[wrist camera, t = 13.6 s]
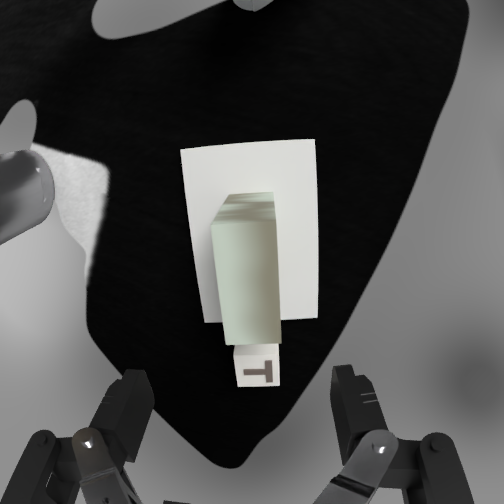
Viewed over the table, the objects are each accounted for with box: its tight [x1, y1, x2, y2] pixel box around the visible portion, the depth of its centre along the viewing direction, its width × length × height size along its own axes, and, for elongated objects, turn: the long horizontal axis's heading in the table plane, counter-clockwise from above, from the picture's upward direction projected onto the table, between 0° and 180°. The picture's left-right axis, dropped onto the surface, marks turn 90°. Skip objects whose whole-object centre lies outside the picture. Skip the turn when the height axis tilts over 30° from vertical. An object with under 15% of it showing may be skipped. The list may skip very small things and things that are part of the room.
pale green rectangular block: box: [211, 192, 281, 345], centre depth 26 cm, size 4×9×10 cm, turn 4°
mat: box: [181, 139, 318, 323], centre depth 31 cm, size 12×18×1 cm, turn 4°
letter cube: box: [233, 343, 280, 387], centre depth 34 cm, size 4×4×5 cm
